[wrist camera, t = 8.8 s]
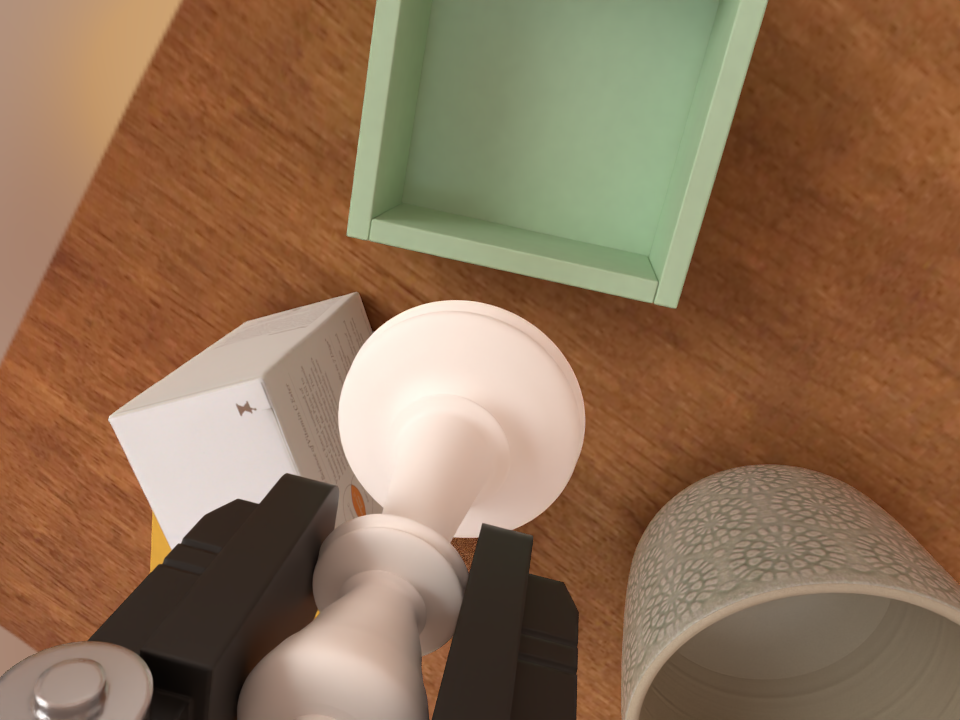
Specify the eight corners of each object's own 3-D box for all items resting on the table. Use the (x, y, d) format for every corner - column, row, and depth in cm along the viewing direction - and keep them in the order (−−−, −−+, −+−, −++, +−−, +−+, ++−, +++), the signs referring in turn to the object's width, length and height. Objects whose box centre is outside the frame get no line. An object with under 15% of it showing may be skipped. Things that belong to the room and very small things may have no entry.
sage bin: (383, 215, 30) (345, 236, 26) (429, -106, 26) (395, -151, 22) (662, 277, 30) (676, 309, 25) (754, -45, 26) (791, -78, 21)
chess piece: (356, 519, 16) (28, 1096, 7) (332, 300, 14) (-142, 657, 5) (584, 528, 15) (570, 1190, 6) (585, 298, 14) (566, 714, 4)
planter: (692, 379, 31) (744, 516, 21) (963, 497, 31) (1149, 692, 21) (568, 600, 35) (560, 803, 25) (806, 702, 35) (895, 947, 25)
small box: (246, 318, 33) (98, 412, 23) (362, 287, 31) (259, 372, 22) (309, 477, 35) (198, 624, 25) (419, 454, 34) (349, 599, 24)
